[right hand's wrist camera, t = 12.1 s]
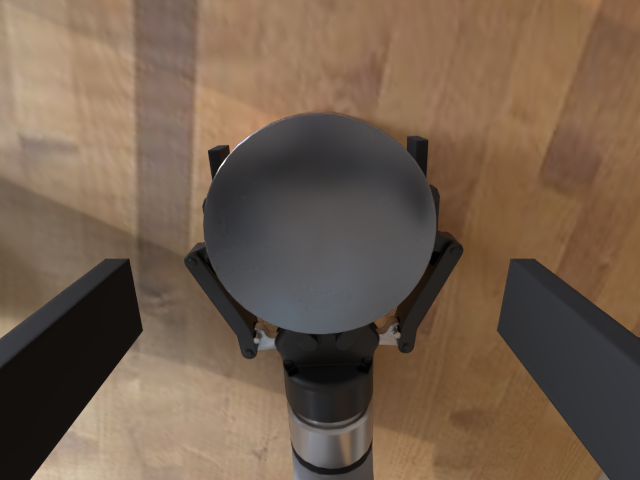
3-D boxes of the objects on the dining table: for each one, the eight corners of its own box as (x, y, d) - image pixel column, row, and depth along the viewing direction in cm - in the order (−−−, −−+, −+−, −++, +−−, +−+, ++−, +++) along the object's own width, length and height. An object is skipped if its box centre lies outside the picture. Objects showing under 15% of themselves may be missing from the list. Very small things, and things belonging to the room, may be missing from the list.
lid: (406, 322, 22) (413, 342, 20) (213, 306, 22) (204, 325, 20) (446, 124, 18) (460, 127, 16) (213, 100, 18) (201, 100, 16)
